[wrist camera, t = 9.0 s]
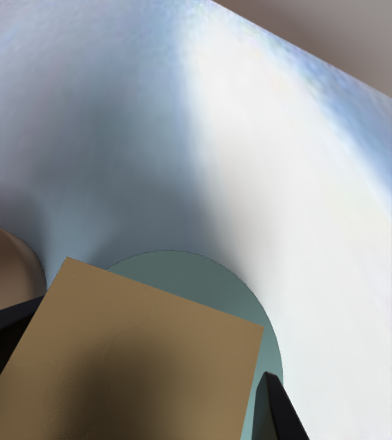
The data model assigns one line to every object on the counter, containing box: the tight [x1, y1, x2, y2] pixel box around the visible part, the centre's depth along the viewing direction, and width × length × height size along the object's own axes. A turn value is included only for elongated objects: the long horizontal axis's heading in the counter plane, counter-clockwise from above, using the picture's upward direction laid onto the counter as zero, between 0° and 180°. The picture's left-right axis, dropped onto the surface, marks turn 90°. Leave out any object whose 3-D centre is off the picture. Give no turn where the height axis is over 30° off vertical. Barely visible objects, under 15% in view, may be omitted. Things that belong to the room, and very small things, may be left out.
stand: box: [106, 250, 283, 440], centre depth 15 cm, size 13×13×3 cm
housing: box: [0, 257, 264, 440], centre depth 10 cm, size 6×6×9 cm
